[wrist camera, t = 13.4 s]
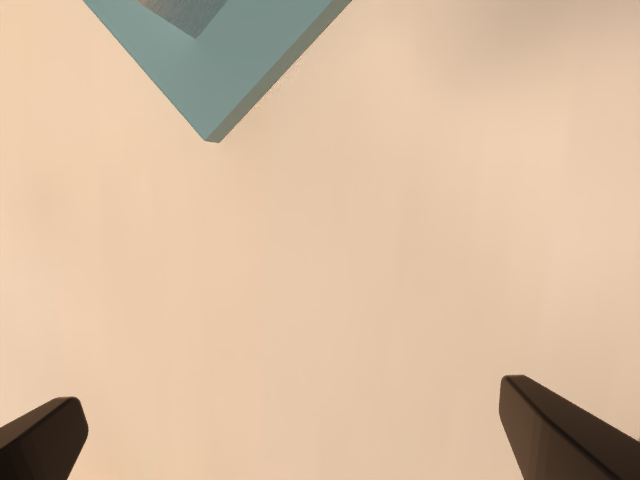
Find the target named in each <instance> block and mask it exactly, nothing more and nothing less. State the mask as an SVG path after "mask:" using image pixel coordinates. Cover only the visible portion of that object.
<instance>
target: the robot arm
mask: <svg viewBox="0 0 640 480" xmlns="http://www.w3.org/2000/svg"><path fill="white" fill-rule="evenodd" d="M499 415H500V419H501V422H502V425H503V427H504V430H505V432H506V435H507V437H508V440H509V442H510V445H511V447H512V450H513V453H514V455H515V458H516V460H517V463H518V465H519V468H520V470H521V473H522V476H523V478H524V480H640V442H639V441H637V440H635V439H633V438H632V437H630V436H628V435H627V434H625V433H623V432H621V431H620V430H618V429H616V428H615V427H613V426H611V425H609V424H608V423H606V422H604V421H603V420H601V419H599V418H597V417H596V416H594V415H592V414H591V413H589V412H587V411H585V410H584V409H582V408H580V407H579V406H577V405H575V404H573V403H572V402H570V401H568V400H566V399H565V398H563V397H561V396H560V395H558V394H556V393H554V392H553V391H551V390H549V389H548V388H546V387H544V386H542V385H541V384H539V383H537V382H536V381H534V380H532V379H530V378H529V377H527V376H525V375H506V376H504V377H503V378H502V380H501V387H500V400H499ZM87 436H88V424H87V421H86V418H85V414H84V411H83V408H82V405H81V402H80V400H79V399H78V398H76V397H58V398H55V399H52V400H51V401H49V402H47V403H45V404H43V405H41V406H39V407H38V408H36V409H34V410H32V411H30V412H28V413H27V414H25V415H23V416H21V417H19V418H17V419H15V420H14V421H12V422H10V423H8V424H6V425H4V426H3V427H1V428H0V480H67V479H68V477H69V475H70V473H71V470H72V468H73V466H74V464H75V462H76V460H77V458H78V456H79V454H80V452H81V450H82V448H83V446H84V444H85V441H86V439H87Z"/></svg>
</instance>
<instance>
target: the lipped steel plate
mask: <svg viewBox="0 0 640 480" xmlns="http://www.w3.org/2000/svg"><path fill="white" fill-rule="evenodd" d="M83 1H84V2H85V3H86V5H87V6H88V7H89V8H90V9H91V10H92V11H93V13H94V14H95V15H96V16H97V17H98V18H99V20H100V21H101V22H102V23H103V24H104V25H105V27H106V28H107V29H108V30H109V31H110V32H111V33H112V35H113V36H114V37H115V38H116V39H117V40H118V42H119V43H120V44H121V45H122V46H123V47H124V48H125V50H126V51H127V52H128V53H129V54H130V55H131V57H132V58H133V59H134V60H135V61H136V62H137V63H138V65H139V66H140V67H141V68H142V69H143V70H144V72H145V73H146V74H147V75H148V76H149V77H150V79H151V80H152V81H153V82H154V83H155V84H156V85H157V87H158V88H159V89H160V90H161V91H162V92H163V94H164V95H165V96H166V97H167V98H168V99H169V100H170V102H171V103H172V104H173V105H174V106H175V107H176V109H177V110H178V111H179V112H180V113H181V114H182V115H183V117H184V118H185V119H186V120H187V121H188V122H189V124H190V125H191V126H192V127H193V128H194V129H195V131H196V132H197V133H198V134H199V135H200V136H201V137H202V139H203V140H204V141H209V142H215V143H219V142H220V141H221V140H222V139H223V138H224V137H225V136H226V135H227V134H228V133H229V132H230V131H231V129H232V128H233V127H234V126H235V125H236V124H237V123H238V122H239V121H240V120H241V119H242V118H243V117H244V115H245V114H246V113H247V112H248V111H249V110H250V109H251V108H252V107H253V106H254V105H255V104H256V103H257V102H258V100H259V99H260V98H261V97H262V96H263V95H264V94H265V93H266V92H267V91H268V90H269V89H270V88H271V86H272V85H273V84H274V83H275V82H276V81H277V80H278V79H279V78H280V77H281V76H282V75H283V74H284V73H285V71H286V70H287V69H288V68H289V67H290V66H291V65H292V64H293V63H294V62H295V61H296V60H297V59H298V57H299V56H300V55H301V54H302V53H303V52H304V51H305V50H306V49H307V48H308V47H309V46H310V45H311V43H312V42H313V41H314V40H315V39H316V38H317V37H318V36H319V35H320V34H321V33H322V32H323V31H324V30H325V28H326V27H327V26H328V25H329V24H330V23H331V22H332V21H333V20H334V19H335V18H336V17H337V16H338V14H339V13H340V12H341V11H342V10H343V9H344V8H345V7H346V6H347V5H348V4H349V3H350V2H351V1H352V0H228V1H227V2H226V3H225V4H224V6H223V7H222V8H221V9H220V11H219V12H218V13H217V14H216V16H215V17H214V18H213V19H212V20H211V22H210V23H209V24H208V25H207V27H206V28H205V29H204V30H203V31H202V33H201V34H200V35H199V36H198V38H197V39H194V38H193V37H191V36H190V35H188V34H186V33H185V32H183V31H182V30H180V29H179V28H177V27H176V26H174V25H172V24H171V23H169V22H168V21H166V20H165V19H163V18H162V17H160V16H159V15H157V14H155V13H154V12H152V11H151V10H149V9H148V8H146V7H145V6H143V5H141V4H140V3H138V2H137V1H135V0H83Z"/></svg>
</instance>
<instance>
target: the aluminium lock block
mask: <svg viewBox="0 0 640 480" xmlns="http://www.w3.org/2000/svg"><path fill="white" fill-rule="evenodd" d="M135 1H137V2H138V3H140V4H141V5H143V6H145V7H146V8H148V9H149V10H151V11H152V12H154V13H155V14H157V15H159V16H160V17H162V18H163V19H165V20H166V21H168V22H169V23H171V24H172V25H174V26H176V27H177V28H179V29H180V30H182V31H183V32H185V33H186V34H188V35H190V36H191V37H193V38H194V39H197V38H198V36H199V35H200V34H201V33H202V31H203V30H204V29H205V28H206V27H207V25H208V24H209V23H210V22H211V20H212V19H213V18H214V17H215V16H216V14H217V13H218V12H219V11H220V9H221V8H222V7H223V6H224V4H225V3H226V2H227V1H228V0H135Z"/></svg>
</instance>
